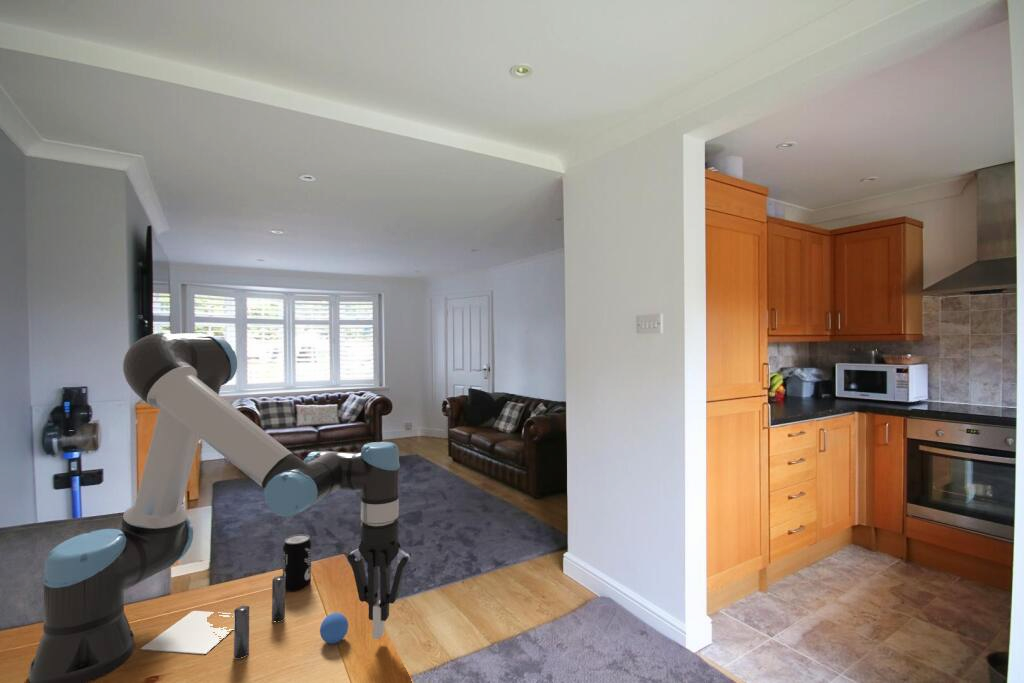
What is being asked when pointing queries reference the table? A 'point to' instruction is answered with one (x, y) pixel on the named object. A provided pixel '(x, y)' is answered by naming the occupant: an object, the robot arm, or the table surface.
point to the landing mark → (189, 635)
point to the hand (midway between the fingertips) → (378, 634)
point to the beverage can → (297, 562)
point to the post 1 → (241, 631)
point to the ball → (334, 628)
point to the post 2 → (278, 598)
